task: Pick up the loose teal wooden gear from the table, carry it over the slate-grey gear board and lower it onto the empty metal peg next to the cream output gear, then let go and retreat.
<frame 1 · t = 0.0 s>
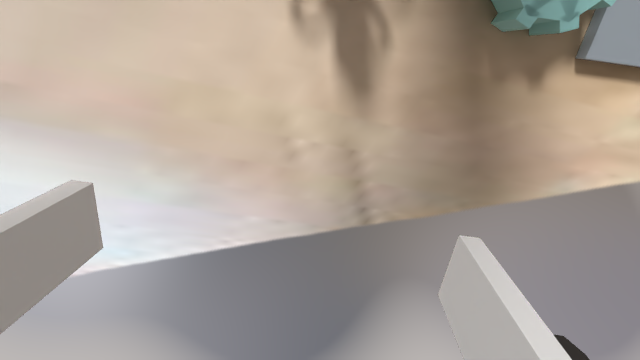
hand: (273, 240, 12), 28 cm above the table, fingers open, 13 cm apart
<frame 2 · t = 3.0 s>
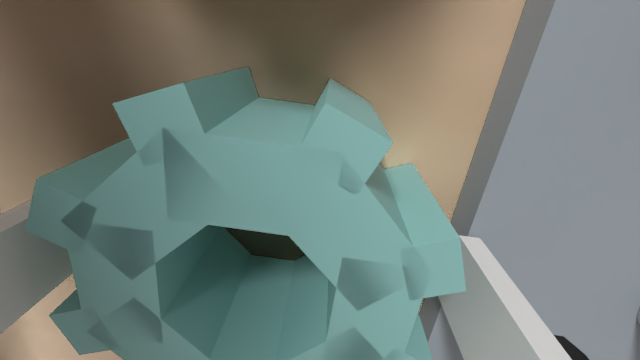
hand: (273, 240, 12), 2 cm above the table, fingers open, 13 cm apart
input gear: (277, 212, 13), on the table
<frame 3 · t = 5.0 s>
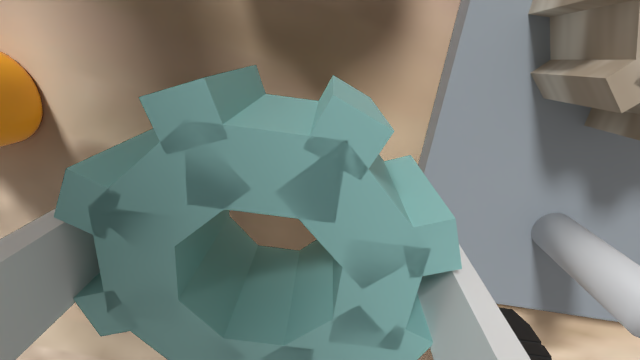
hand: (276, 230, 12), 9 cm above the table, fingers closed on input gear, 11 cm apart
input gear: (282, 203, 14), point 7 cm above the table, touching gripper
orange post with rings: (2, 94, 20), on the table
gear board: (576, 129, 19), on the table
when the fingers open (4 cm above the table, at t = 9.8 s): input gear stays where it is, resting on gear board.
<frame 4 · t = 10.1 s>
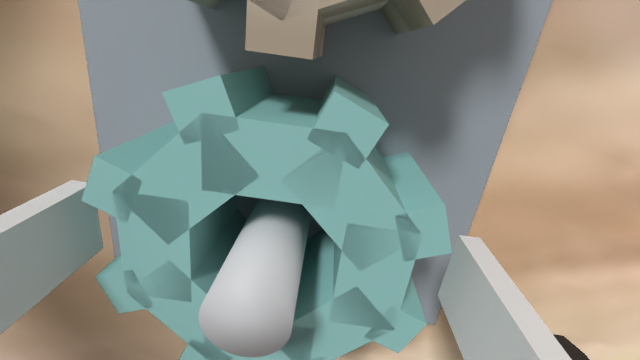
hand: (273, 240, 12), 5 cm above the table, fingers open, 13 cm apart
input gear: (287, 196, 14), point 1 cm above the table, touching gear board
gear board: (304, 62, 14), on the table
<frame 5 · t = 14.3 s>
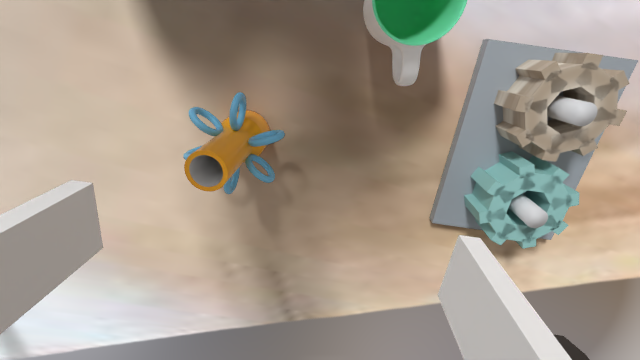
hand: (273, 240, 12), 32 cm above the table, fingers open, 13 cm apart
mug: (398, 27, 37), on the table
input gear: (507, 191, 42), point 1 cm above the table, touching gear board
orange post with rings: (249, 131, 43), on the table
output gear: (542, 103, 38), resting on gear board
gear board: (517, 147, 42), on the table
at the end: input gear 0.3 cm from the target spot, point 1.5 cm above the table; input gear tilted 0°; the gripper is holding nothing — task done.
